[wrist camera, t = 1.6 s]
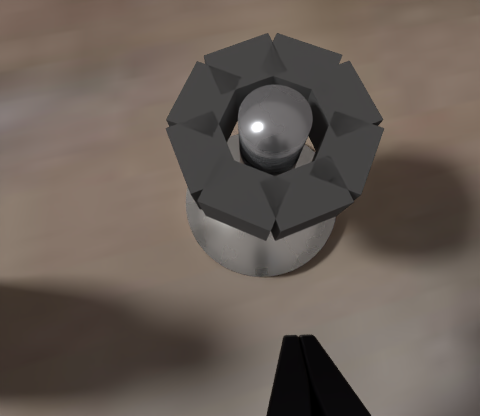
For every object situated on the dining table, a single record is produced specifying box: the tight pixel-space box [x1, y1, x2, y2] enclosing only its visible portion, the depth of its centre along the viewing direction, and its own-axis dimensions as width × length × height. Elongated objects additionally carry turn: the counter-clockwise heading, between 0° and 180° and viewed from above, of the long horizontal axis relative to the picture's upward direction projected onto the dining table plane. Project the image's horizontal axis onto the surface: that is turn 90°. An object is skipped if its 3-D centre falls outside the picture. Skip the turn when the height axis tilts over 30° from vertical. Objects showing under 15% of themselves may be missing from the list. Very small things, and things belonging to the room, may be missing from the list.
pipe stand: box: [186, 85, 336, 277], centre depth 18 cm, size 11×11×12 cm
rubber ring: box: [166, 33, 384, 241], centre depth 14 cm, size 8×8×2 cm
